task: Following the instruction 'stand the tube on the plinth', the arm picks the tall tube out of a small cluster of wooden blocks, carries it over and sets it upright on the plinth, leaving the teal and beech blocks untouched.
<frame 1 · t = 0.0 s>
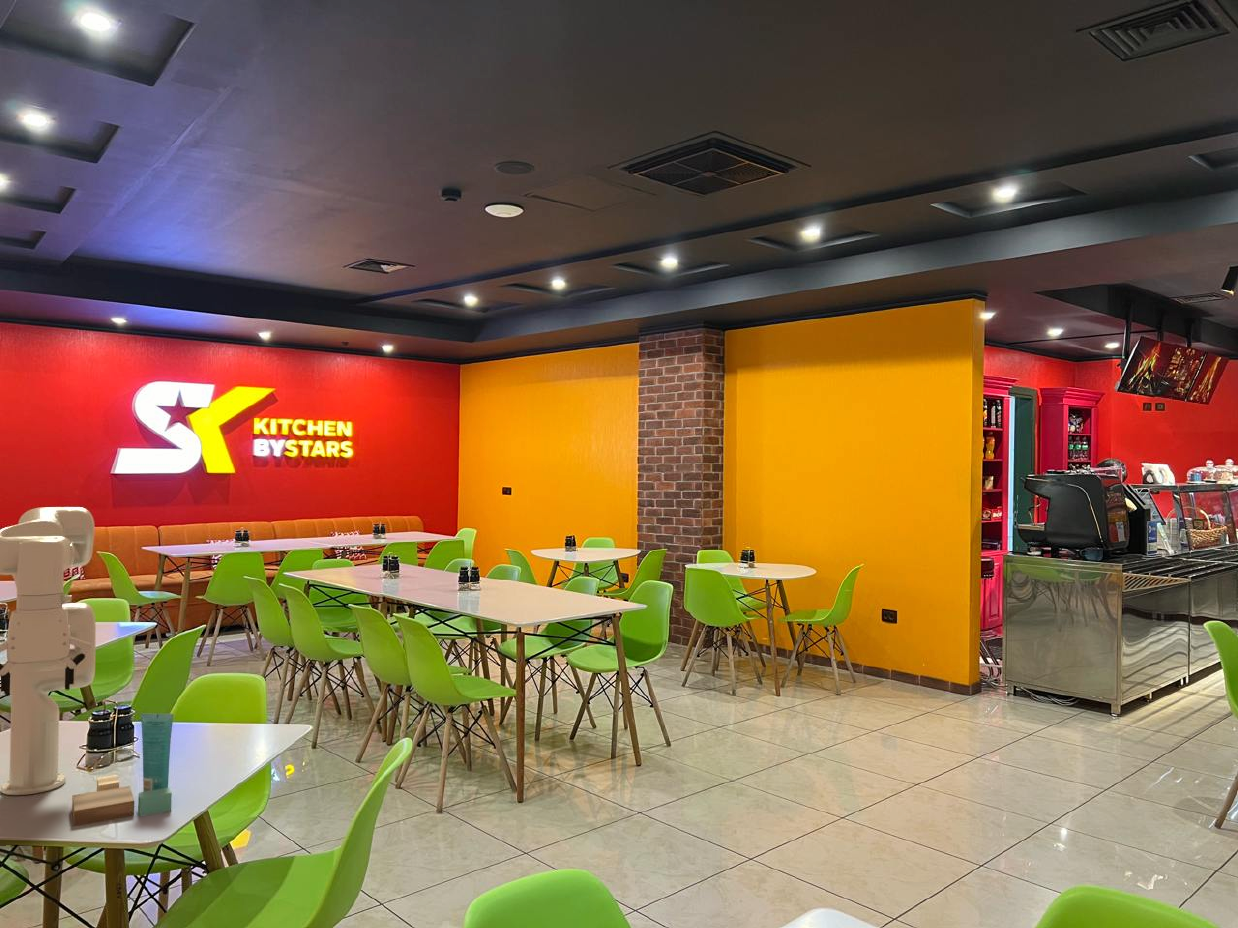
hand: (37, 691, 167), 31 cm above the table, tool pointing down, fingers open, 9 cm apart
plinth: (102, 811, 189), on the table
teal block: (154, 810, 190), on the table
beech block: (107, 797, 198), on the table
tube: (155, 799, 197), on the table
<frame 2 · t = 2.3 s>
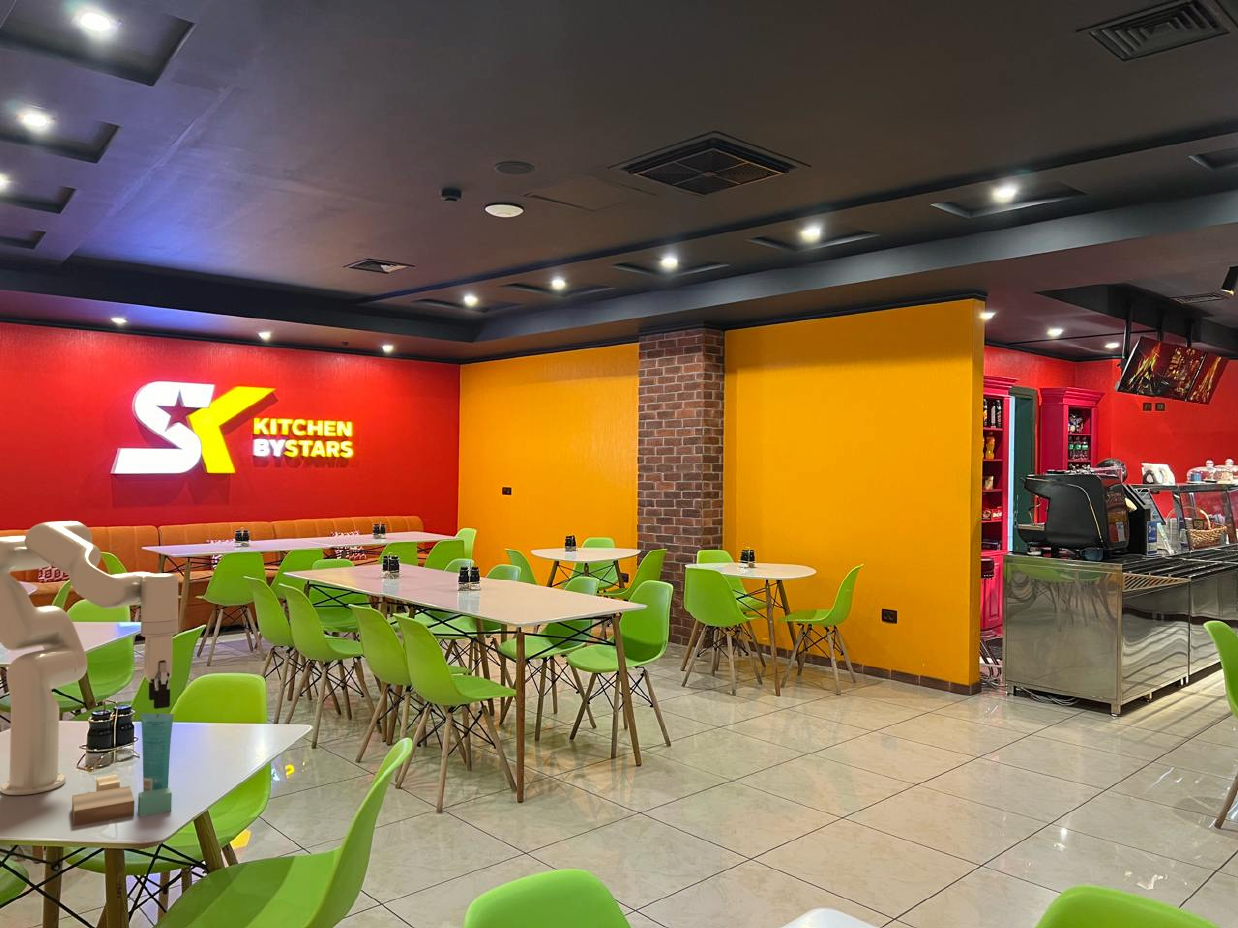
hand: (159, 703, 197), 22 cm above the table, tool pointing down, fingers open, 9 cm apart
nothing on the table moved.
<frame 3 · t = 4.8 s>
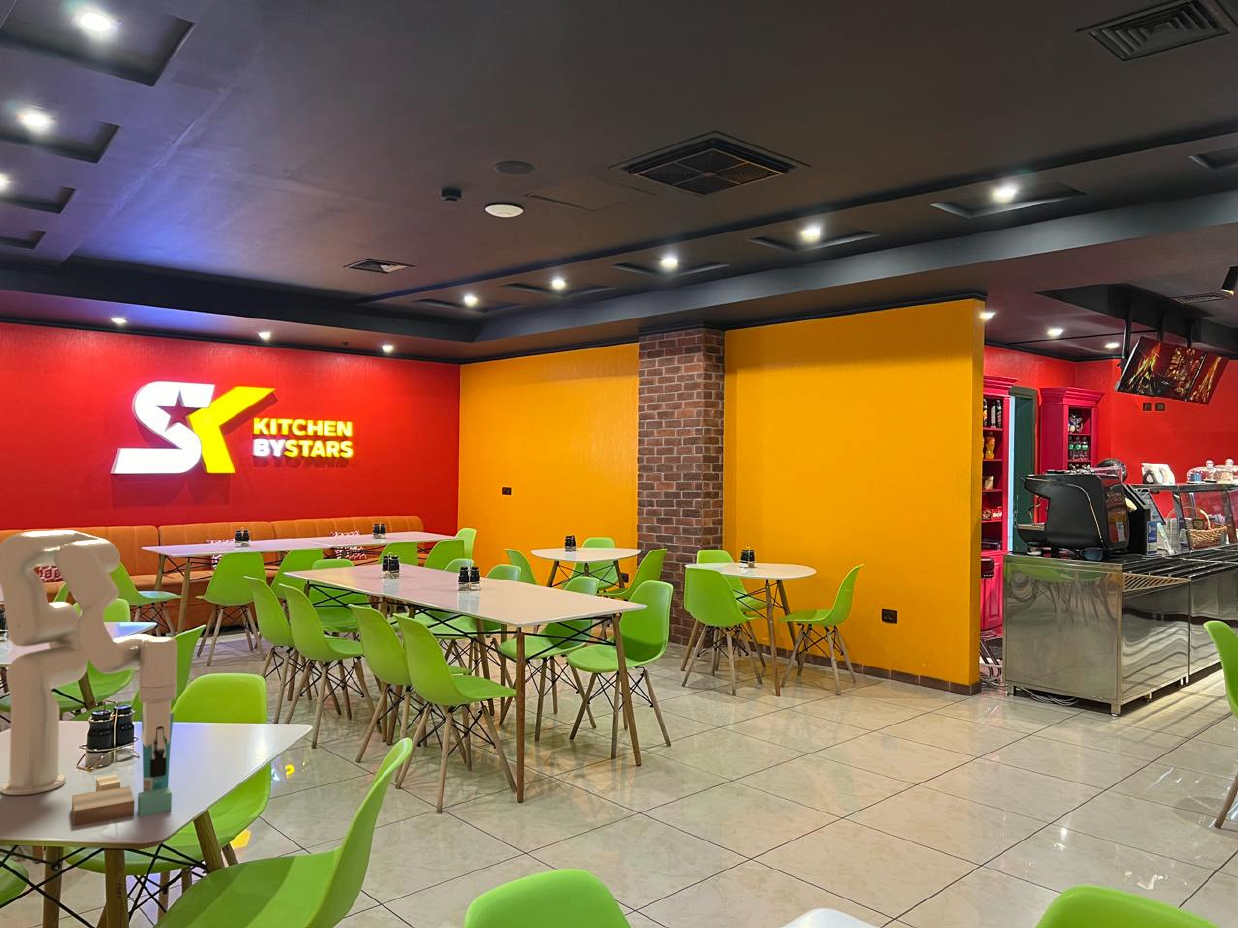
hand: (156, 771, 197), 6 cm above the table, tool pointing down, fingers closed on tube, 4 cm apart
tube: (155, 799, 197), on the table, touching gripper
everything else where it was.
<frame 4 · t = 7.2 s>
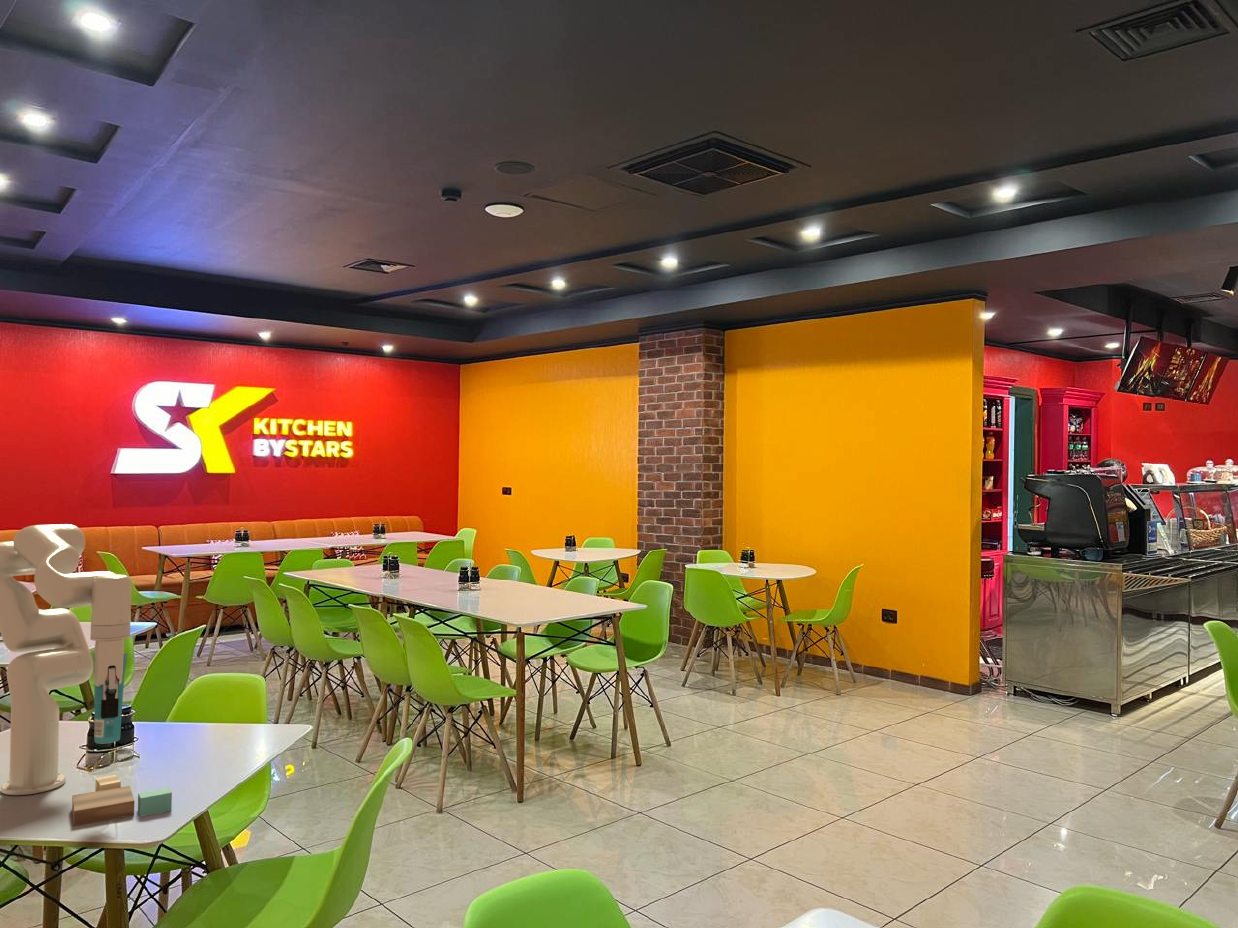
hand: (108, 713, 190), 21 cm above the table, tool pointing down, fingers closed on tube, 4 cm apart
tube: (107, 741, 190), point 15 cm above the table, touching gripper
everything else where it was.
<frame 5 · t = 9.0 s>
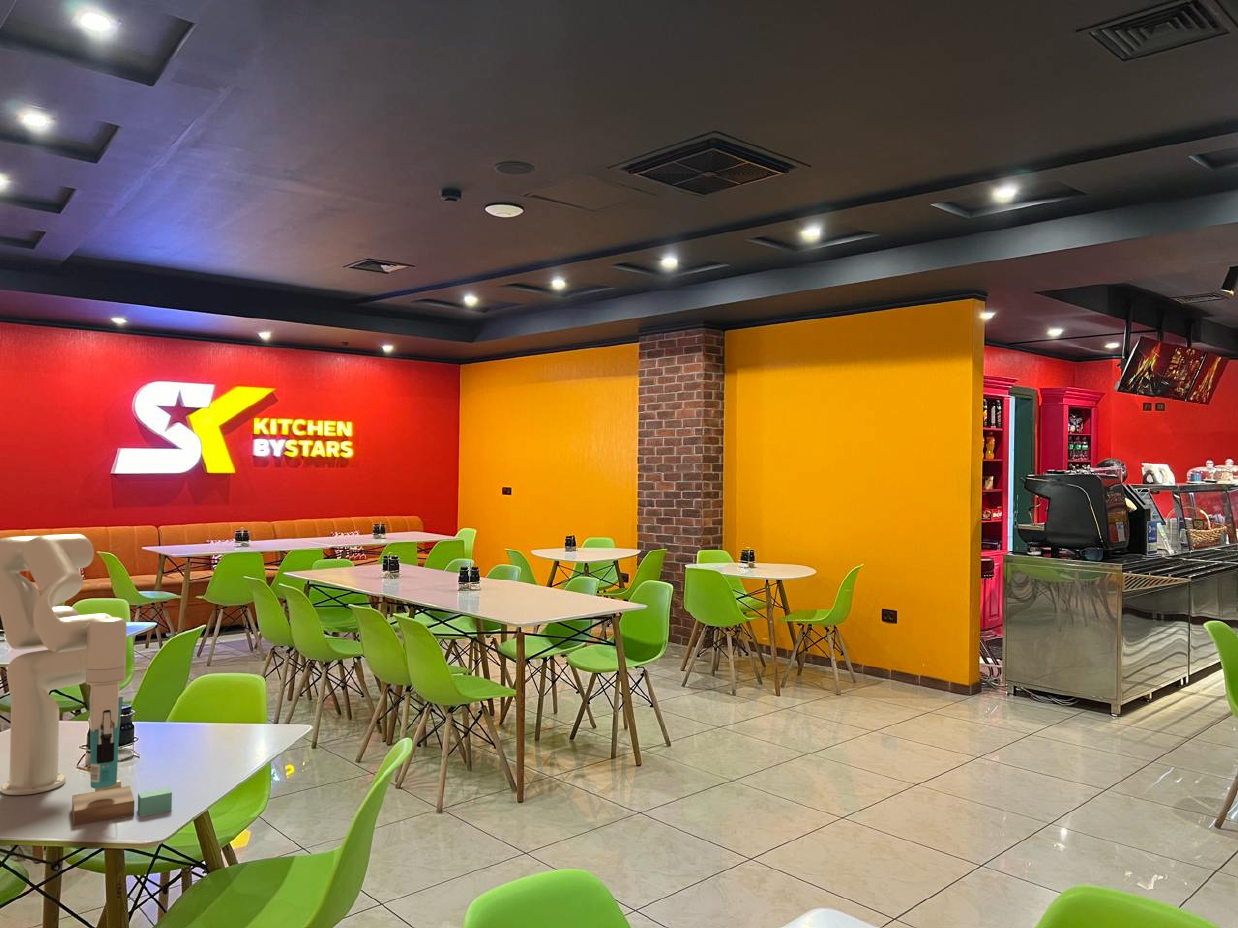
hand: (104, 757, 189), 12 cm above the table, tool pointing down, fingers closed on tube, 4 cm apart
tube: (103, 786, 189), point 6 cm above the table, touching gripper
everything else where it was.
when the fingers open (10 cm above the table, at t = 10.1 s): tube drops 1 cm, resting on plinth.
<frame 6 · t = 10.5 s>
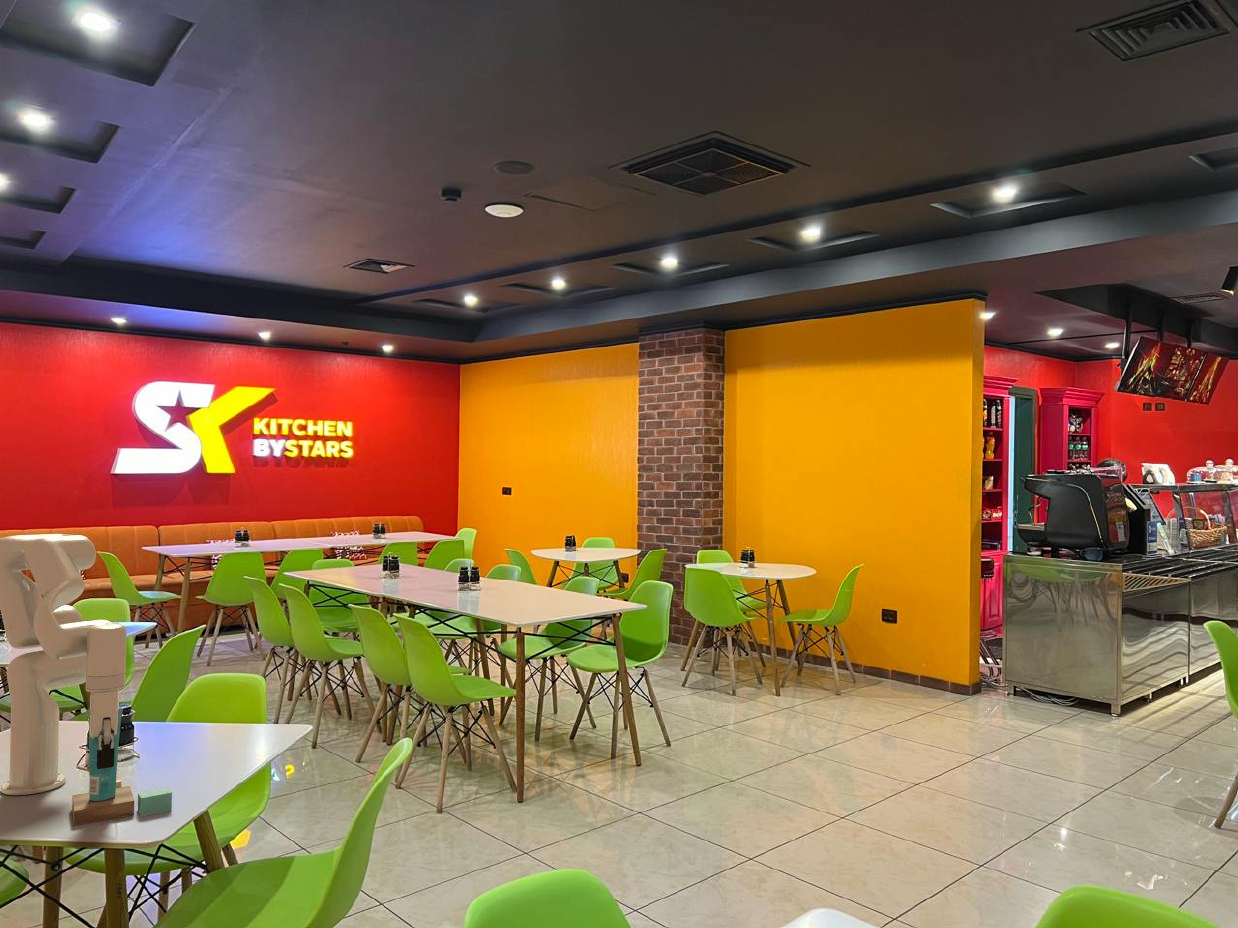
hand: (104, 761, 189), 11 cm above the table, tool pointing down, fingers open, 8 cm apart
tube: (102, 798, 189), point 3 cm above the table, touching plinth
everything else where it was.
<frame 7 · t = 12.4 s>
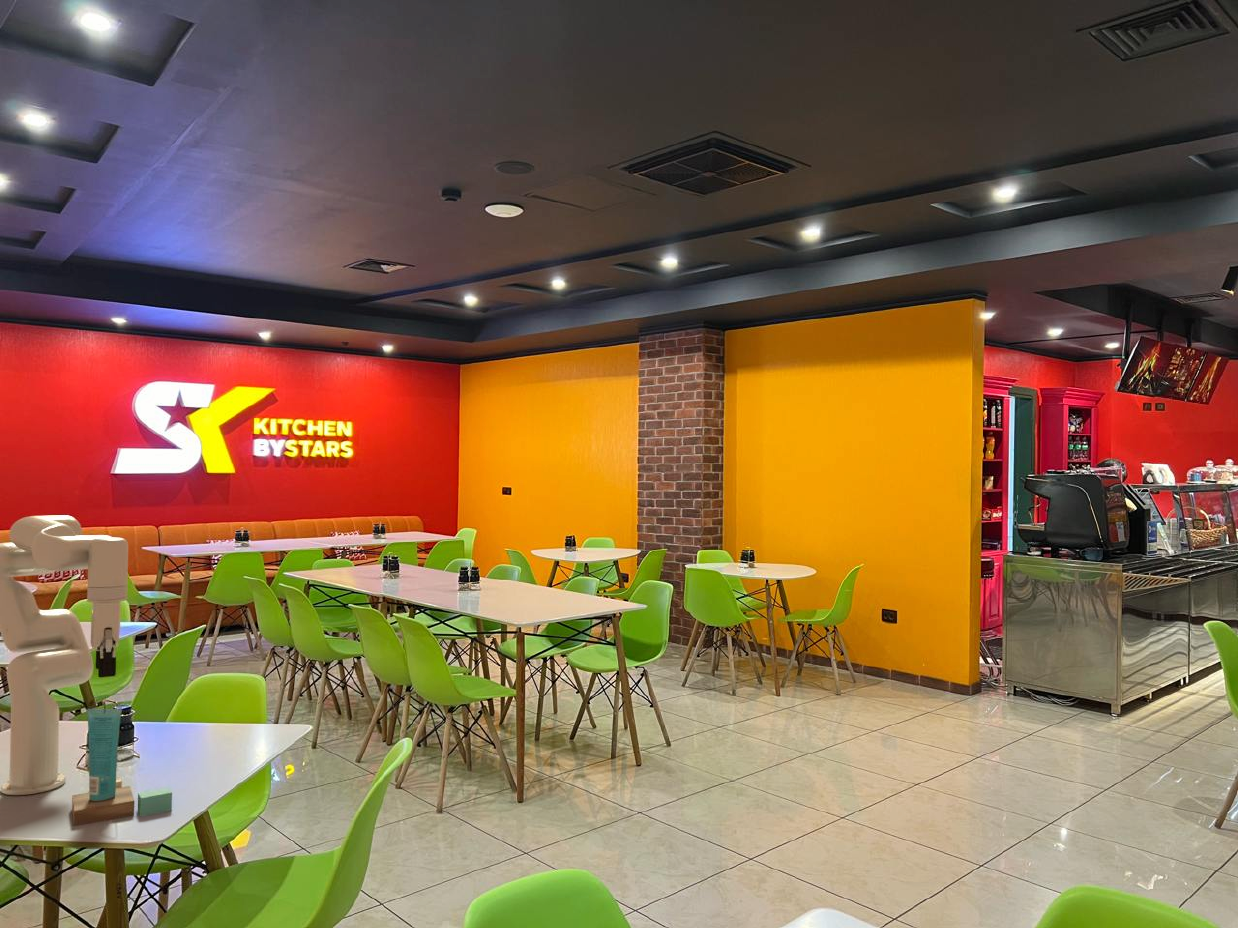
hand: (105, 672, 190), 30 cm above the table, tool pointing down, fingers open, 9 cm apart
nothing on the table moved.
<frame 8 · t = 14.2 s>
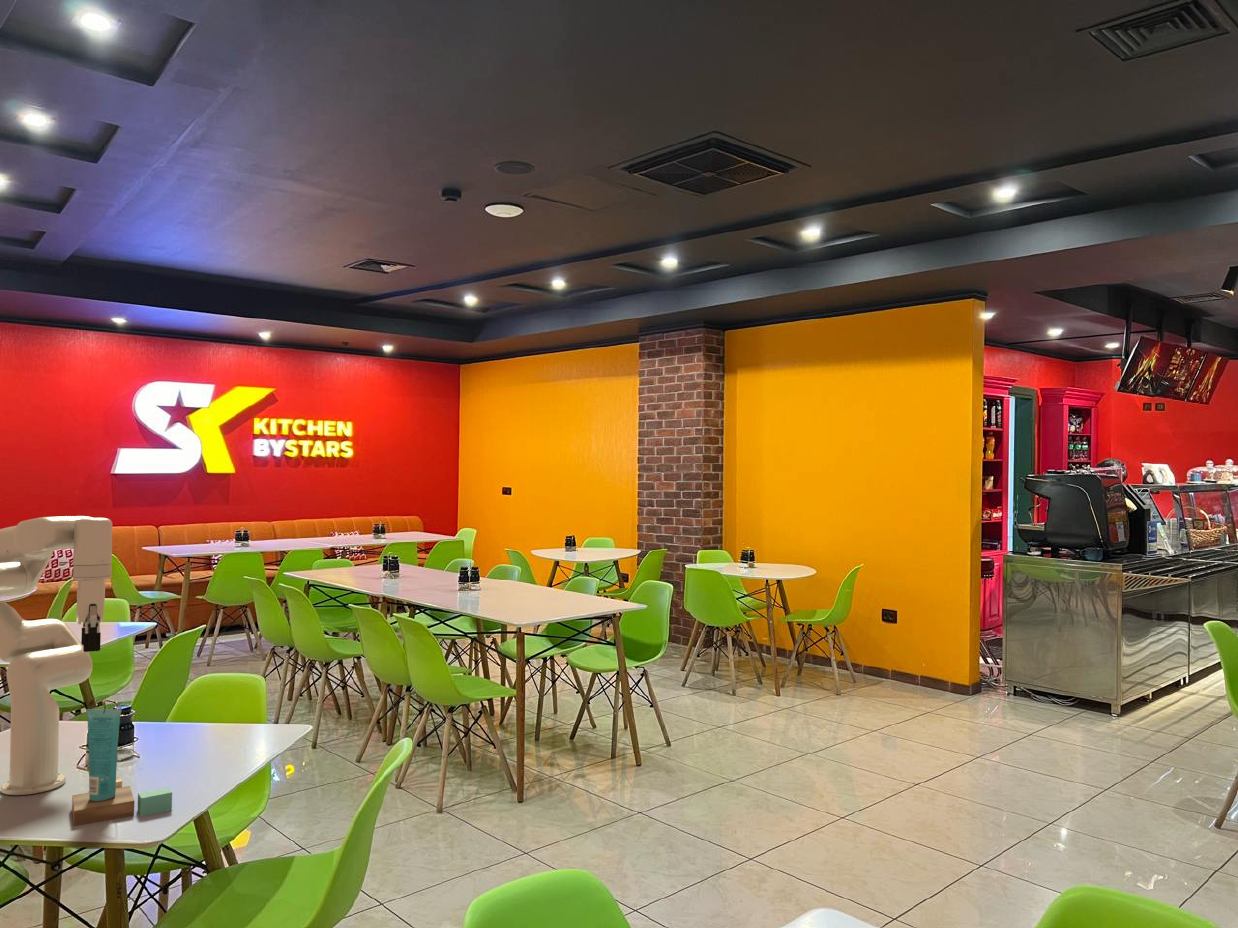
hand: (90, 647, 196), 34 cm above the table, tool pointing down, fingers open, 9 cm apart
nothing on the table moved.
at the end: tube inside the target area on the plinth (0.4 cm from its centre), point 2.8 cm above the plinth's base; tube tilted 0°; teal block moved 0.2 cm from its start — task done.
